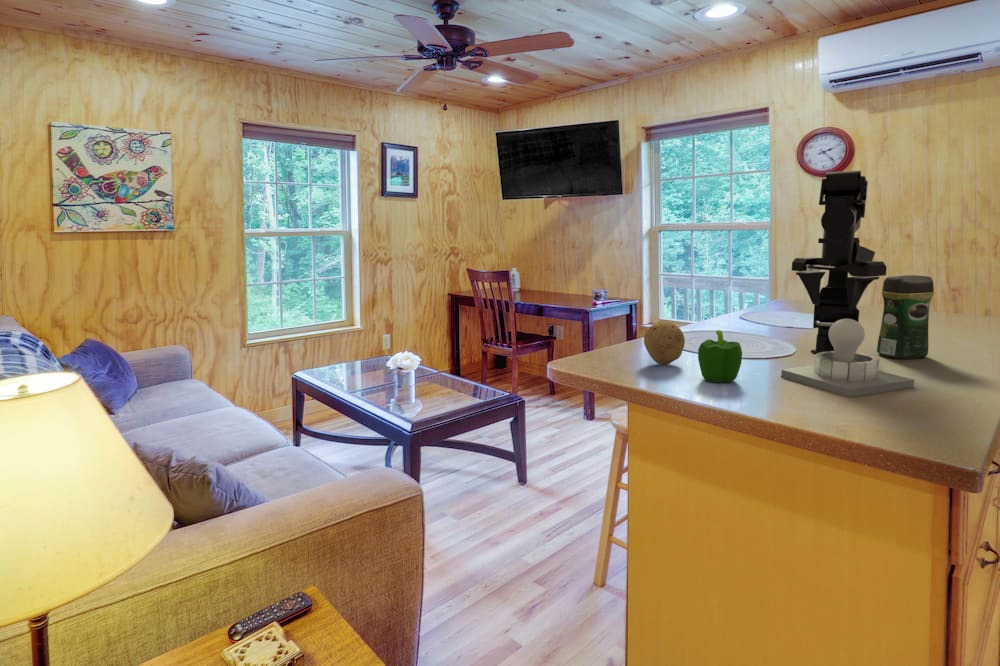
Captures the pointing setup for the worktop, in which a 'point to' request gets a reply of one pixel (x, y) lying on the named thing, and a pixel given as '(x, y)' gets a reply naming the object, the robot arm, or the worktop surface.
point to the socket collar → (846, 367)
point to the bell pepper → (719, 359)
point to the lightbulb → (846, 338)
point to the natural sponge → (664, 342)
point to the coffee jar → (905, 316)
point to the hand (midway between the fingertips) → (833, 306)
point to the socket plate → (848, 382)
